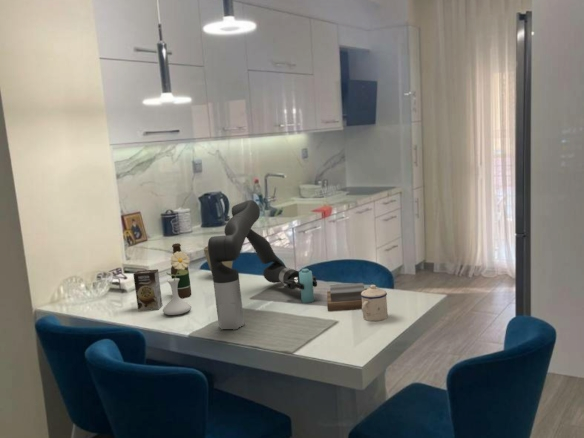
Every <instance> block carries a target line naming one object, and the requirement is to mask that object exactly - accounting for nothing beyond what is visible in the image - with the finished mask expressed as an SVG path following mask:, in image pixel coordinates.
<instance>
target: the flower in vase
mask: <svg viewBox="0 0 584 438" xmlns="http://www.w3.org/2000/svg"><path fill="white" fill-rule="evenodd" d="M190 260H191V259H190V257H189V256H188V254H186V253H185V252H184V251H182V250H181V251H180V252H178V251H177V252H176V253H174V255H173V254H171V256H170V265H171V267H172V266H173V267H174V268H175V269H178V271H177V273H179V274H181V275H185V274H187V273H189V274H190V272H188V271H187V270H185V268H187V267H188V268H189V266H190ZM180 269H181V270H180ZM166 274H167V275H168V276H170V277H171V276H175V275H174V274H171V273H168V272H166ZM176 276H177V274H176ZM176 276H175V278H173V279H172V278H169V279H167V280H166V283H168V284H169V286H170V289H171V295H172V297H171V299H170V300H169V301H168V302H167V303H166V305H165V306H164V307H163V309H162V313H163V314H165V315H169V316H176V315H177V316H178V315H182V314H183V315H184V314H186V313H187V312H189V311H190V310H191V309H192V305H191V304H190V303H189V302H188V301H186V300H184V299H183V298H182V299H181V298H180V297H179V295H178V290H177V286H178V282H179V280H180V279H179V278H176Z"/></svg>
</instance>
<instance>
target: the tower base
mask: <svg viewBox="0 0 584 438" xmlns="http://www.w3.org/2000/svg"><path fill="white" fill-rule="evenodd" d="M329 287H330V290H329V291H328V290H327V293H326V306H327V307H326V308H327V311H328V312H333V311H335V312H337V311H347V310H360V309H361V310H362V297H361V293H362V292H363V291H364V290H367V289H368V288H365V285H364V283H363V282H357V283H354V282H353V283H343V284H342V283H341V284H331V285H329Z"/></svg>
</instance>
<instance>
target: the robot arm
mask: <svg viewBox="0 0 584 438" xmlns="http://www.w3.org/2000/svg"><path fill="white" fill-rule="evenodd" d="M260 211H261V210H260V207H259V205H258V204H257V202H256V201H255V200H252V199H249V200H245V201H242V202H241V203H237V204H235V205H233V206H232V207H231V215H232V217H230V218H229V220H228V221H227V222H226V225H225V226H224V235H217V236H215V235H214V236H211V237H210V238H209V239H208V241H207V246H208V252H209V258H210V264H211V270H212V272H211V275H212V281H213V289H214V291H213V292H214V298H215V306H216V314H217V320H218V321H217V322H218V324H217V325H218V328H219V327H220V328H221V329H233V330H238V329H240V328H241V326H242V327H243V326H244V325H245V319H244V318H245V317H244V312H243V311H244V310H243V302H242V301H243V300H242V292H241V284H240V275H239V271H238V270H237V269H236V268H233V267H232V268H229V267H227V266H225V265H224V264H223V263H222V262H226V261H233V262H234V261H236V260H237V259H239V256H240V254H241V252H242V248H243V245H244V242H245V240H246V239H247V241H248V242H249V243H250V244H251V246H252V247H253V249H254V252H255V253H256V255H257V257H258V259H259V260H260V262H261V263H262V264H263V265H266V264H269V265H268V266H267V267H265V268H264V269H263V273H262V274H263V277H264V279H265V280H266V281H267V282H268V283H274V284H276V283H280V284H282V285H283V287H284V288H286V289H289V290H294V289H298V290H300V289H301V290H304V285H303V284H302V283H300V280H299V272H300V271H299V270H297V269H294V268H289V267H286V265H285V263H284V262H283V261H282V260H280V258H279V257H278V256H277V255H276V253H275V252H274V250H273V248H272V245H271V244H270V242H269V241H268V240H267V239H266V238H265V237H264V236H262V235H261V234H259V233H257V232H256V231H254V230H253V229H252V228H253V226H254V225H255V223H256V222H257V221H259V218H260V214H261V212H260ZM211 270H210V271H211ZM312 279H313V288H316V287H318V281H317V277H316V276H315V275H313V274H312ZM301 290H300V291H301ZM239 327H240V328H239ZM220 328H219V329H220ZM221 329H220V330H221Z"/></svg>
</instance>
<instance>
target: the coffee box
mask: <svg viewBox="0 0 584 438" xmlns="http://www.w3.org/2000/svg"><path fill="white" fill-rule="evenodd" d="M133 281H134V290H135V298H136V305H137V311H138V312H146V311H158V310H160V309H161V308H162V307H163V302H162V301H163V299H162V292H161V284H160V283H161V282H160V274H159V269H157V268H156V269H146V270H145V269H144V270H137V271H135V272H134V273H133Z"/></svg>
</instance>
